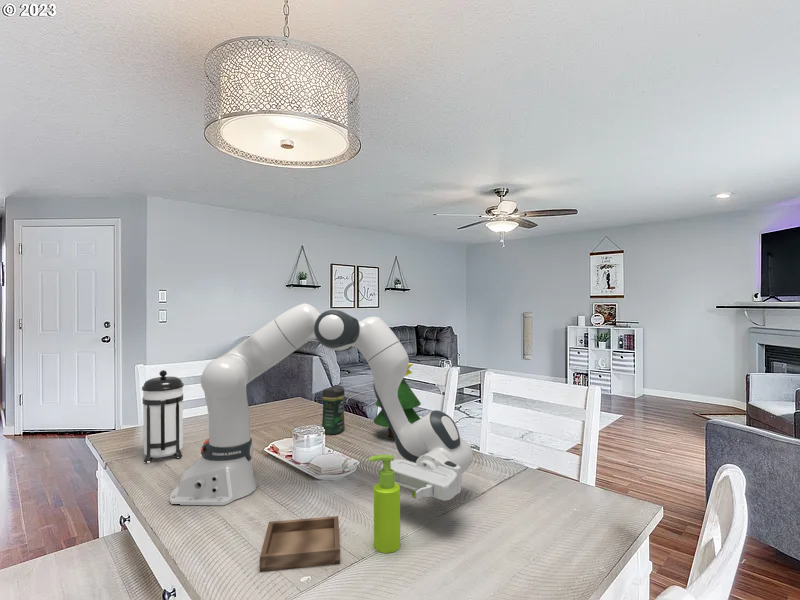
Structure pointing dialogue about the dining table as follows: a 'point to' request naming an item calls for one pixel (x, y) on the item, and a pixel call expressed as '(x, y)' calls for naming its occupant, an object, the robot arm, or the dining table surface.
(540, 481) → the dining table surface
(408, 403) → the decorative tree
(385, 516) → the soap dispenser
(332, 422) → the coffee jar
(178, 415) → the coffee press
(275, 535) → the holder tray
